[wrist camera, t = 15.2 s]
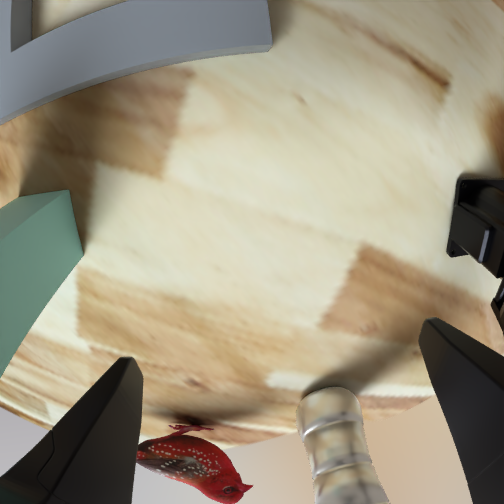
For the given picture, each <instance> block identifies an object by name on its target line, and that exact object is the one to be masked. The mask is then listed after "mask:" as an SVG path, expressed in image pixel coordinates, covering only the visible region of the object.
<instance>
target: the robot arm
mask: <svg viewBox="0 0 504 504" xmlns="http://www.w3.org/2000/svg"><path fill="white" fill-rule="evenodd" d="M463 183H464V184H463ZM462 184H463V187H462ZM452 250H453V251H452ZM446 252H447V254H448V255H449V256H450V257H458V256H463V255H470V256H471V257H473V258H474V259H475V260H476V261H477V262H478V263H481V264H482V265H483V266H484V267H485V268H486V269H488V270H489V271H490V272H491V273H492V274H493V275H494V276H495V277H496V278H500V279H502V281H501V284H500V286H499V289H498V291H497V293H496V296H495V298H493V300H492V302H491V307H492V309H493V312H494V314H495V316H496V318H497V320H498V322H499V325H500V327H501V329H502V331H503V335H504V178H460V179H459V180H458V181H457V185H456V194H455V202H454V209H453V216H452V223H451V229H450V235H449V240H448V245H447V251H446ZM419 346H420V349H421V352H422V355H423V358H424V361H425V365H426V368H427V371H428V374H429V377H430V380H431V383H432V386H433V388H434V391H435V393H436V396H437V398H438V401H439V403H440V405H441V408H442V410H443V413H444V416H445V418H446V421H447V423H448V426H449V429H450V432H451V434H452V437H453V440H454V443H455V446H456V449H457V452H458V455H459V458H460V461H461V464H462V467H463V470H464V473H465V476H466V480H467V483H468V487H469V490H470V494H471V498H472V502H473V504H504V357H503V356H502V355H500V354H499V353H497V352H495V351H494V350H492V349H490V348H489V347H487V346H485V345H484V344H482V343H480V342H479V341H477V340H475V339H474V338H472V337H470V336H469V335H467V334H465V333H463V332H462V331H460V330H458V329H457V328H455V327H453V326H451V325H450V324H448V323H446V322H445V321H443V320H441V319H439V318H437V317H432V318H428V319H426V320H425V321H424V322H423V326H422V329H421V332H420V335H419ZM142 397H143V375H142V372H141V370H140V368H139V367H138V365H137V363H136V361H135V359H134V358H133V357H120V358H119V359H118V360H117V361H116V362H115V363H114V364H113V365H112V366H111V367H110V368H109V369H108V370H107V371H106V372H105V373H104V374H103V375H102V376H101V377H100V378H99V379H98V381H97V382H96V383H95V384H94V385H93V386H92V387H91V388H90V389H89V390H88V391H87V392H86V393H85V394H84V395H83V396H82V397H81V398H80V399H79V400H78V401H77V403H76V404H75V405H74V406H73V407H72V408H71V409H70V410H69V411H68V412H67V413H66V414H65V415H64V416H63V417H62V418H61V419H60V421H59V422H58V423H57V424H56V425H55V426H54V427H53V428H52V430H50V431H49V432H48V433H47V434H46V435H45V437H44V438H43V439H42V440H41V441H40V442H39V443H38V444H37V445H36V446H35V447H34V448H33V449H32V450H31V451H29V452H28V453H27V454H26V455H25V456H24V457H23V458H22V459H21V460H19V461H18V462H17V463H16V464H15V465H14V466H13V467H11V468H10V469H9V470H8V471H7V472H6V473H5V474H3V475H2V476H1V477H0V504H131V503H132V492H133V482H134V474H135V465H136V458H137V450H138V443H139V436H140V429H141V419H142Z"/></svg>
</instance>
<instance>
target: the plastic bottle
mask: <svg viewBox="0 0 504 504" xmlns="http://www.w3.org/2000/svg"><path fill="white" fill-rule="evenodd" d="M296 426H297V429H298V432H299V435H300V437H301V439H302V441H303V443H304V446H305V449H306V452H307V456H308V459H309V463H310V466H311V470H312V479H313V480H314V482H313V487H314V495H315V504H390V503H389V500H388V498H387V496H386V494H385V491H384V489H383V487H382V485H381V483H380V481H379V479H378V477H377V474H376V471H375V468H374V466H373V465H372V460H371V458H370V455H369V451H368V447H367V442H366V437H365V432H364V428H363V415H362V409H361V405H360V403H359V402H358V400H357V398H356V397H355V395H354V394H353V393H352V392H351V391H349V390H347V389H345V388H342V387H328V388H323V389H320V390H317V391H314V392H312V393H310V394H309V395H307V396H306V397H305V398H303V399H302V401H301V402H300V404H299V406H298V407H297V410H296Z"/></svg>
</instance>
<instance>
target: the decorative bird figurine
mask: <svg viewBox="0 0 504 504" xmlns="http://www.w3.org/2000/svg"><path fill="white" fill-rule="evenodd" d="M169 426H170V427H171V428H173V429H175V430H179V431H177V432H175V433H172V434H170V435H168V436H164V437H161V438H156V439H150V440H146V441H144V442H142V443H140V444H139V445H138V450H137V458H136V463H138V464H140V465H141V466H143V467H145V468H147V469H149V470H151V471H153V472H155V473H158V474H160V475H163V476H165V477H168V478H171V479H175V480H177V481H181V482H183V483H186V484H189V485H191V486H194V487H195V488H197V489H198V490H200V491H201V492H202V493H203V494H205V495H206V496H207V497H209V498H211V499H213V500H215V501H217V502H220V503H223V504H235V503H237V502H238V501H239V500H240V499H241V498H242V497H243V495H244V492H246V491H248V490H249V489H250V488H252V487H253V485H246V484H243V483H242V480H241V477H240V474H239V473H237V472H236V470H235V468H234V466H233V464H232V462H231V460H230V459H229V458H228V456H227V455H226V454H225V453H224V452H223V451H222V450H221V449H220V448H219V447H217V446H216V445H214V444H212V443H210V442H208V441H206V440H204V439H202V438H198V437H194V436H189V435H181V434H184V433H186V432H189V431H200V430H203V429H205V430H213V429H210V428H204V427H201V426H198V425H190V426H185V425H184V426H183V425H175V426H176V427H173V426H171V425H169Z"/></svg>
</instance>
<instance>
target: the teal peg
mask: <svg viewBox="0 0 504 504" xmlns="http://www.w3.org/2000/svg"><path fill="white" fill-rule="evenodd" d="M83 256H84V254H83V250H82V246H81V242H80V238H79V234H78V230H77V226H76V221H75V217H74V212H73V207H72V202H71V197H70V192H69V189H68V190H61V191H54V192H47V193H41V194H34V195H28V196H22V197H18V198H16V199H15V200H13V201H11V202H10V203H8V204H7V205H5V206H4V207H2V208H1V209H0V378H1V376H2V374H3V372H4V371H5V369H6V367H7V366H8V364H9V362H10V360H11V359H12V357H13V355H14V354H15V352H16V350H17V349H18V347H19V346H20V344H21V342H22V341H23V339H24V338H25V336H26V334H27V333H28V331H29V330H30V328H31V327H32V325H33V324H34V322H35V321H36V319H37V318H38V316H39V315H40V313H41V312H42V310H43V309H44V308H45V306H46V305H47V303H48V302H49V301H50V299H51V298H52V296H53V295H54V294H55V292H56V291H57V289H58V288H59V287H60V285H61V284H62V283H63V281H64V280H65V279H66V277H67V276H68V275H69V274H70V272H71V271H72V270H73V268H74V267H75V266H76V265H77V263H78V262H79V261H80V259H81V258H82V257H83Z"/></svg>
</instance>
